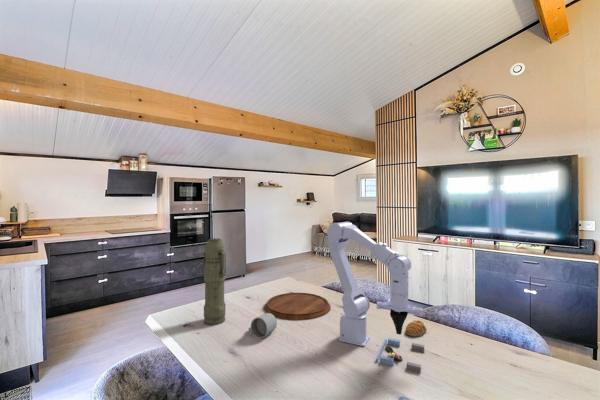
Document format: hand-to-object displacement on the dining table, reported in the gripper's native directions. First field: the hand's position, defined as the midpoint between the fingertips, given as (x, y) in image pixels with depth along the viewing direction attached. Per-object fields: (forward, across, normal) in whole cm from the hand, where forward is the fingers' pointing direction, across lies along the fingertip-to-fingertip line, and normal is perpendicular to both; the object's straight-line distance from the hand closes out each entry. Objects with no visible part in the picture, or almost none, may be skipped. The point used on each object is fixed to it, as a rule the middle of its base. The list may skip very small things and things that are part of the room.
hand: (399, 333), depth 98 cm
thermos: (+8, -75, -7) cm, 75 cm away
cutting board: (+8, -51, +24) cm, 57 cm away
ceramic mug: (+8, -50, -8) cm, 51 cm away
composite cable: (+8, -2, -1) cm, 8 cm away
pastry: (+8, +3, +21) cm, 23 cm away
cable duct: (+7, +1, 0) cm, 7 cm away
